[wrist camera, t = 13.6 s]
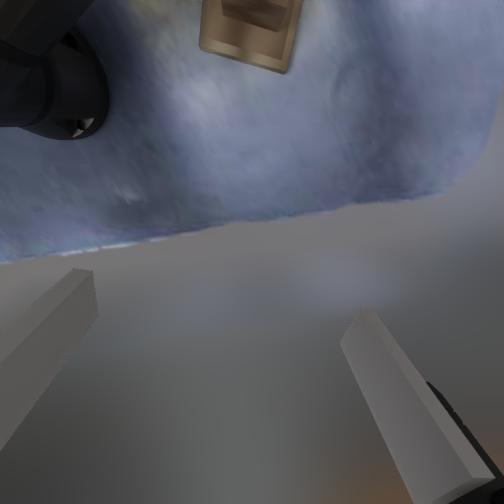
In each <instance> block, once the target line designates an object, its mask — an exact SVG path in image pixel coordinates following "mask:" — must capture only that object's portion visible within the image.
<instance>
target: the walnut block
mask: <svg viewBox="0 0 504 504" xmlns="http://www.w3.org/2000/svg"><path fill="white" fill-rule="evenodd" d="M288 2H289V0H221V4H222V11H223V16H226V17H229V18H233V19H236V20H239V21H242V22H245V23H248V24H251V25H255V26H258V27H261V28H264V29H267V30H270V31H274V32H277V31H278V29H279V27H280V24H281V22H282V19H283V17H284V15H285V12H286V10H287V7H288Z"/></svg>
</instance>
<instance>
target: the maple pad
mask: <svg viewBox="0 0 504 504" xmlns="http://www.w3.org/2000/svg"><path fill="white" fill-rule="evenodd" d="M302 2H303V0H289V2H288V7H287V10H286V12H285V15H284V17H283V19H282V22H281V24H280V27H279V29H278V31H277V32H274V31H270V30H267V29H264V28H261V27H258V26H255V25H251V24H248V23H245V22H242V21H239V20H236V19H233V18H229V17H226V16H223V11H222V4H221V0H203V2H202V14H201V26H200V38H199V47H200V49H201V50H203V51H206V52H209V53H213V54H216V55H220V56H223V57H226V58H230V59H233V60H237V61H240V62H243V63H247V64H250V65H253V66H257V67H260V68H264V69H267V70H270V71H274V72H277V73H280V74H285V73H286V71H287V67H288V62H289V58H290V54H291V49H292V45H293V41H294V37H295V32H296V28H297V24H298V19H299V15H300V11H301V7H302Z"/></svg>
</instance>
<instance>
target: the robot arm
mask: <svg viewBox="0 0 504 504" xmlns="http://www.w3.org/2000/svg"><path fill="white" fill-rule="evenodd" d="M93 1H94V0H0V127H19V128H22V129H24V130H27V131H30V132H32V133H35V134H38V135H40V136H43V137H46V138H51V139H56V140H73V139H81V138H84V137H87V136H89V135H91V134H93V133H94V132H95V131H96V130H97V129H98V128H99V127H100V126H101V125H102V123H103V121H104V119H105V117H106V114H107V110H108V103H109V94H108V86H107V81H106V77H105V74H104V71H103V69H102V66H101V64H100V62H99V60H98V58H97V56H96V54H95V52H94V51H93V49H92V48H91V46H90V45H89V43H88V42H87V41H86V40H85V38H84V37H83V36H82V35H81V34H80V33H79V32H78V31H77V30H76V29H75V28H74V27H73V25H74V24H75V23H76V21H77V20H78V19H79V18H80V17H81V16H82V14H83V13H84V12H85V11H86V10H87V8H88V7H89V6H90V5H91V4H92V3H93ZM98 316H99V315H98V307H97V301H96V293H95V285H94V278H93V271H89V270H81V269H75V268H74V269H72V270H71V271H70V272H69V273H68V274H67V275H65V276H64V277H63V278H62V279H61V280H60V281H58V282H57V283H56V284H55V285H54V286H53V287H52V288H51V289H49V290H48V291H47V292H46V293H45V294H44V295H42V296H41V297H40V298H39V299H38V300H37V301H35V302H34V303H33V304H32V305H31V306H30V307H29V308H27V309H26V310H25V311H24V312H23V313H22V314H20V315H19V316H18V317H17V318H16V319H15V320H14V321H13V322H11V323H10V324H9V325H8V326H7V327H5V328H4V329H3V330H2V331H1V332H0V450H1V449H2V448H3V446H4V445H5V444H6V442H7V441H8V439H9V438H10V437H11V435H12V434H13V433H14V431H15V430H16V429H17V427H18V426H19V424H20V423H21V422H22V420H23V419H24V417H25V416H26V415H27V414H28V412H29V411H30V409H31V408H32V407H33V405H34V404H35V403H36V401H37V400H38V398H39V397H40V396H41V394H42V393H43V391H44V390H45V389H46V388H47V386H48V385H49V383H50V382H51V381H52V379H53V378H54V377H55V375H56V374H57V372H58V371H59V370H60V368H61V367H62V366H63V364H64V363H65V362H66V360H67V359H68V357H69V356H70V355H71V353H72V352H73V351H74V349H75V348H76V347H77V345H78V344H79V342H80V341H81V340H82V338H83V337H84V336H85V334H86V333H87V331H88V330H89V329H90V327H91V326H92V325H93V323H94V322H95V321H96V319H97V318H98ZM340 346H341V348H342V350H343V352H344V354H345V356H346V358H347V361H348V363H349V365H350V367H351V369H352V371H353V373H354V376H355V378H356V380H357V382H358V384H359V386H360V388H361V391H362V393H363V395H364V397H365V399H366V401H367V403H368V406H369V408H370V410H371V412H372V414H373V416H374V419H375V421H376V423H377V425H378V427H379V429H380V431H381V433H382V436H383V438H384V440H385V442H386V444H387V446H388V449H389V451H390V453H391V455H392V457H393V459H394V461H395V464H396V466H397V468H398V470H399V472H400V474H401V477H402V478H403V481H404V483H405V485H406V487H407V489H408V491H409V494H410V496H411V498H412V500H413V502H414V504H504V475H503V474H502V473H501V472H500V470H499V469H498V468H497V466H496V465H495V464H494V462H493V461H492V460H491V459H490V457H489V456H488V455H487V453H486V452H485V451H484V449H483V448H482V447H481V445H480V444H479V443H478V441H477V440H476V439H475V438H474V436H473V435H472V433H471V432H470V431H469V429H468V428H467V427H466V426H465V425H463V423H462V420H461V419H460V418H459V416H458V415H457V414H456V412H454V411H453V408H452V407H451V406H450V404H449V403H448V402H447V400H446V399H445V398H444V397H443V395H442V394H441V393H440V392H439V391H437V389H435V388H434V387H433V386H432V385H431V384H430V383H429V382H425V381H424V380H423V378H422V377H421V375H420V374H419V373H418V371H417V370H416V369H415V367H414V366H413V365H412V363H411V362H410V360H409V359H408V358H407V356H406V355H405V353H404V352H403V351H402V349H401V348H400V347H399V345H398V344H397V342H396V341H395V340H394V339H393V337H392V336H391V334H390V333H389V332H388V330H387V329H386V327H385V326H384V325H383V324H382V322H381V321H380V319H379V318H378V317H377V315H376V314H375V312H374V311H373V310H368V309H362V308H360V309H359V311H358V313H357V314H356V316H355V317H354V319H353V321H352V323H351V324H350V326H349V328H348V329H347V331H346V333H345V334H344V336H343V338H342V339H341V341H340Z"/></svg>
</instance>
